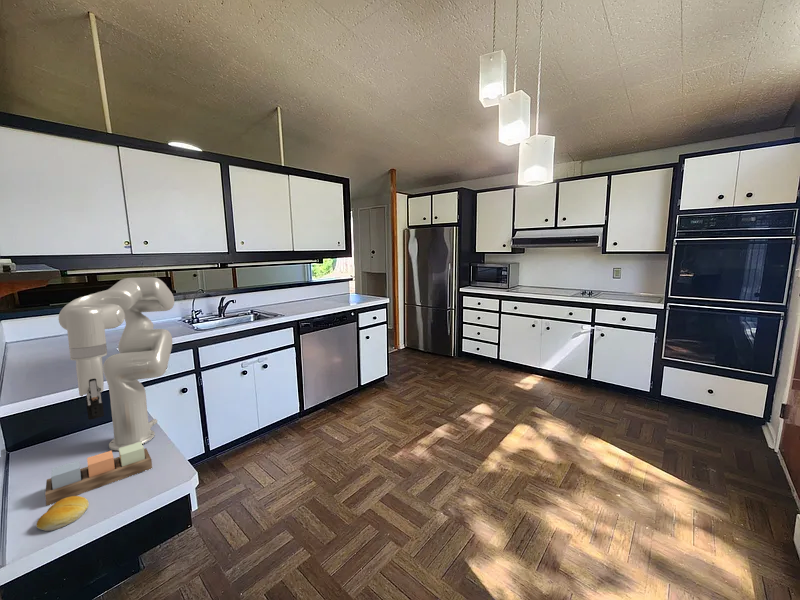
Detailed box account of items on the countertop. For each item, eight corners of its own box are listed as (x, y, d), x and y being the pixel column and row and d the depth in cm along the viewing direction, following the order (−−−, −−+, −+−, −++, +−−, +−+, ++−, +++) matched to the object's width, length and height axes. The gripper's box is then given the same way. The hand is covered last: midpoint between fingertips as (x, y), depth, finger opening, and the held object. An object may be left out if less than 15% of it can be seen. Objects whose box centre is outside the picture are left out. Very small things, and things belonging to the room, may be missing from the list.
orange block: (113, 463, 100) (111, 450, 99) (114, 470, 96) (113, 457, 96) (88, 471, 96) (87, 457, 96) (89, 479, 92) (87, 465, 92)
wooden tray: (147, 457, 107) (146, 448, 107) (152, 468, 101) (151, 459, 100) (47, 489, 92) (46, 479, 91) (46, 505, 85) (45, 495, 85)
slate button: (80, 473, 95) (79, 460, 94) (81, 481, 91) (79, 468, 91) (53, 482, 91) (51, 468, 91) (52, 491, 87) (51, 477, 87)
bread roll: (29, 536, 76) (26, 520, 75) (56, 509, 84) (54, 495, 84) (74, 528, 78) (72, 512, 78) (95, 502, 87) (94, 488, 86)
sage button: (142, 453, 105) (141, 441, 104) (145, 460, 101) (144, 447, 100) (119, 460, 101) (118, 448, 100) (122, 468, 97) (120, 455, 97)
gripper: (69, 349, 96) (76, 410, 98) (70, 360, 84) (78, 429, 86) (104, 344, 101) (110, 402, 103) (109, 354, 89) (116, 419, 91)
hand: (95, 414), depth 94 cm, fingers open, 5 cm apart
